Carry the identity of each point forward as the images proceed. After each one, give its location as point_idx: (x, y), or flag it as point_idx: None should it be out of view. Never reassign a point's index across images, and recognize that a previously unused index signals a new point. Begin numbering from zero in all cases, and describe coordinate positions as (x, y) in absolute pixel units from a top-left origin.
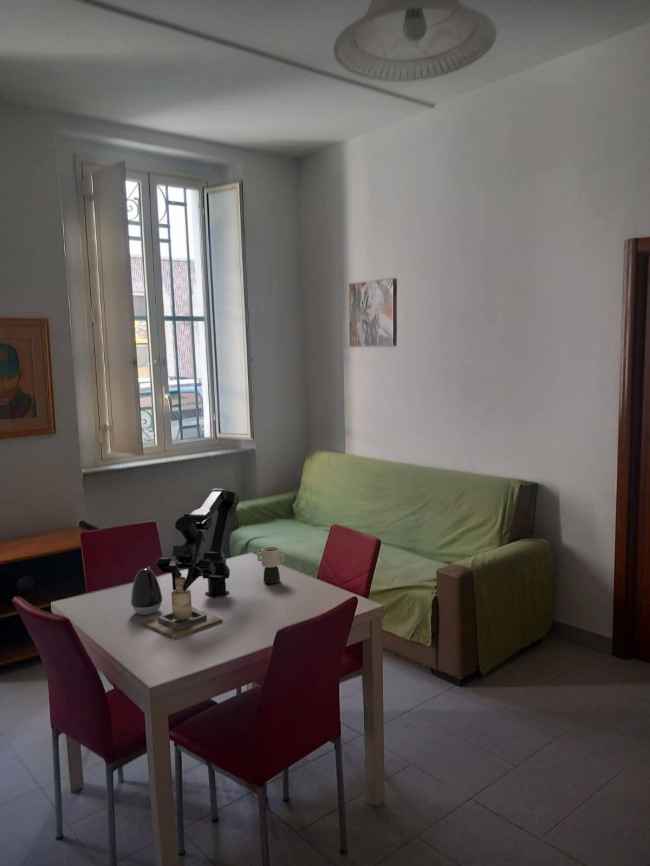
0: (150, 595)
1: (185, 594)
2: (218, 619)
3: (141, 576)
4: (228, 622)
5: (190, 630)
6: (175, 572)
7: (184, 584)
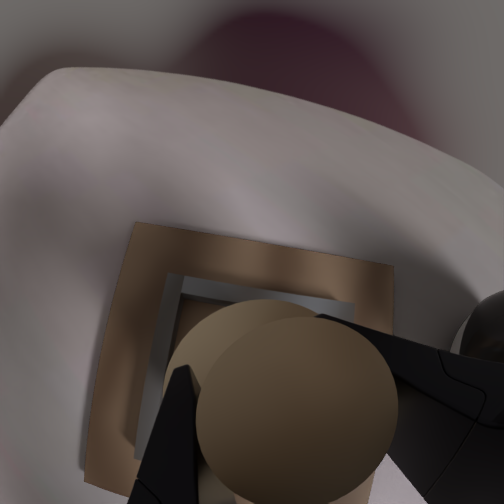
0: (501, 335)
1: (167, 371)
2: (93, 472)
3: None
4: (66, 480)
5: (112, 306)
6: (496, 421)
7: (188, 406)
